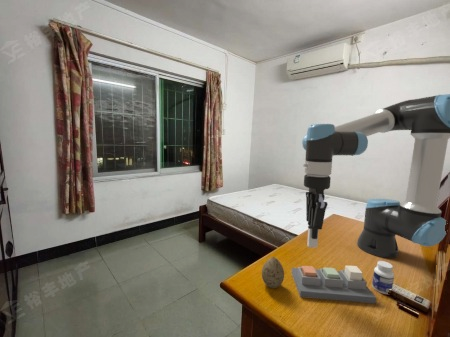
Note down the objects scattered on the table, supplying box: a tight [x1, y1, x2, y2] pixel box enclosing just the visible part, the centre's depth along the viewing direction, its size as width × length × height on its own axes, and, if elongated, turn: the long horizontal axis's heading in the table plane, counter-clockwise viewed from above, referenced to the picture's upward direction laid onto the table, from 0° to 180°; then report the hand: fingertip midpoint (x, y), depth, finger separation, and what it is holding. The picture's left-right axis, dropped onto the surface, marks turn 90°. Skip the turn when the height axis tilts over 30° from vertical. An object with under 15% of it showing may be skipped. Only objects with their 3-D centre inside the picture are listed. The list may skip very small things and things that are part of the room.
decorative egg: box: [261, 256, 285, 289], centre depth 69 cm, size 7×7×10 cm
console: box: [290, 266, 377, 304], centre depth 70 cm, size 22×12×4 cm, turn 85°
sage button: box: [322, 267, 339, 279], centre depth 69 cm, size 4×4×3 cm
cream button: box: [344, 265, 363, 281], centre depth 68 cm, size 4×4×3 cm
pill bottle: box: [371, 260, 395, 295], centre depth 69 cm, size 5×5×9 cm
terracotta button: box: [301, 265, 316, 277], centre depth 70 cm, size 4×4×3 cm
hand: (312, 246), depth 69 cm, fingers closed
